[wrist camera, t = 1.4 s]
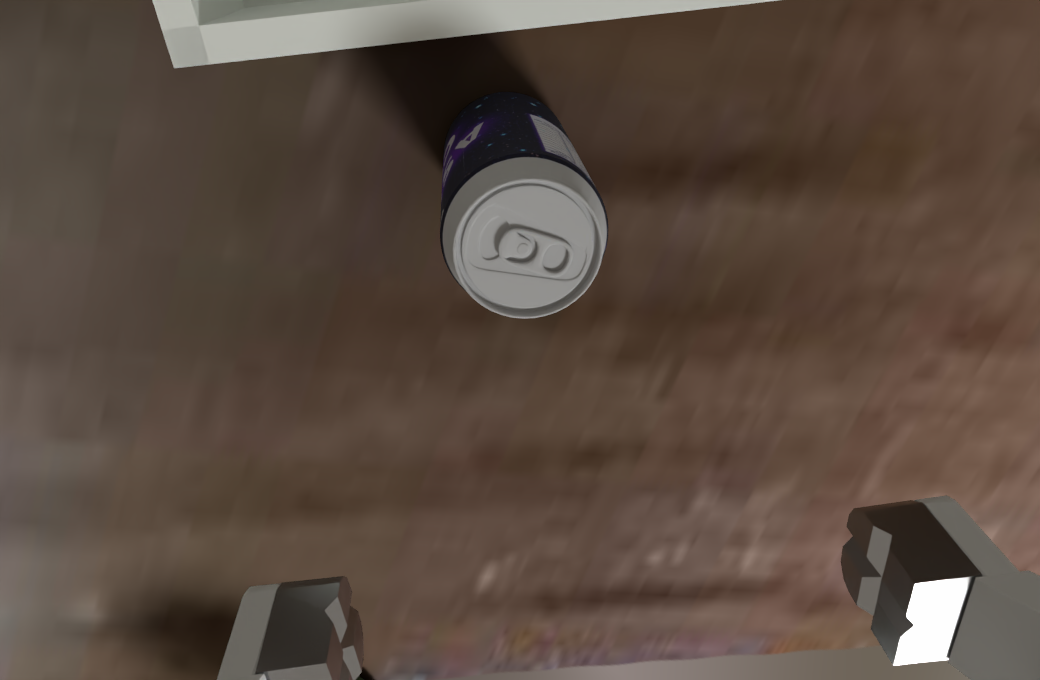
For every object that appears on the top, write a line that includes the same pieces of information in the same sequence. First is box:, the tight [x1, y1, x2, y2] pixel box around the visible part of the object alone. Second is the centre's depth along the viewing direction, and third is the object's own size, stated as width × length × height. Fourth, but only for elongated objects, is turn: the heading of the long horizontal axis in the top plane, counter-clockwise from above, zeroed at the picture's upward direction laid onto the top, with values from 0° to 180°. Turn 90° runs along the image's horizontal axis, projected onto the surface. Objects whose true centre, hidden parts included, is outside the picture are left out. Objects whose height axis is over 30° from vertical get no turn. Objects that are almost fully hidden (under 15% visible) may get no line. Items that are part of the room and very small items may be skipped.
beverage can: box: [440, 92, 608, 318], centre depth 28 cm, size 6×6×12 cm
